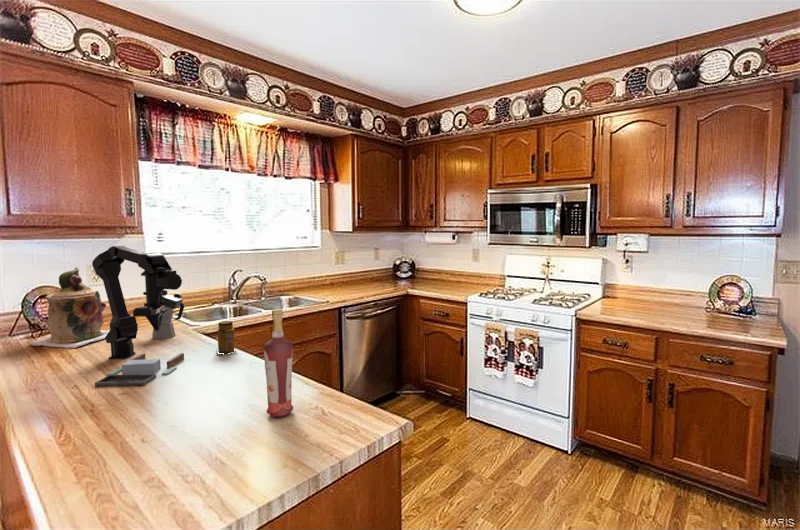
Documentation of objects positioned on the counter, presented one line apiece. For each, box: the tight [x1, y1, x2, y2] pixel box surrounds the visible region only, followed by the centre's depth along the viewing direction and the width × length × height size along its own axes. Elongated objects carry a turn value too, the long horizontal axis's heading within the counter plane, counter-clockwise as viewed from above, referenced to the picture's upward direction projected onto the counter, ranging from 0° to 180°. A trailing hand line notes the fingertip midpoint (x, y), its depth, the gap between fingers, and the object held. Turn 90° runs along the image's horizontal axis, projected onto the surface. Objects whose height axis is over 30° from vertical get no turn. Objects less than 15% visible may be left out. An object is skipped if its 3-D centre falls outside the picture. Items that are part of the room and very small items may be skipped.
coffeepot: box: [151, 302, 185, 340], centre depth 188 cm, size 15×9×18 cm, turn 118°
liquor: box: [263, 308, 294, 419], centre depth 109 cm, size 7×7×28 cm
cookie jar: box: [28, 267, 110, 349], centre depth 183 cm, size 25×25×32 cm
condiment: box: [215, 320, 238, 356], centre depth 165 cm, size 7×8×12 cm
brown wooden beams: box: [124, 352, 185, 370], centre depth 151 cm, size 15×10×2 cm, turn 92°
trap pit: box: [94, 373, 157, 388], centre depth 134 cm, size 15×7×1 cm, turn 92°
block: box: [121, 358, 162, 375], centre depth 143 cm, size 10×5×4 cm, turn 99°
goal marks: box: [106, 366, 177, 376], centre depth 143 cm, size 20×6×1 cm, turn 92°
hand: (157, 330), depth 152 cm, fingers closed
